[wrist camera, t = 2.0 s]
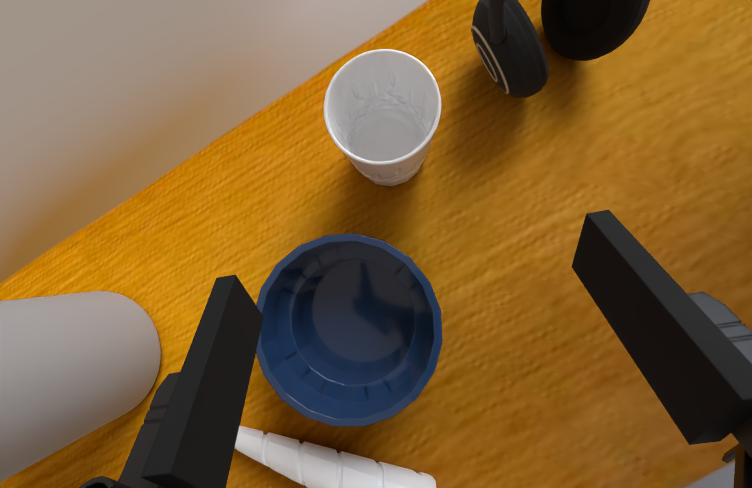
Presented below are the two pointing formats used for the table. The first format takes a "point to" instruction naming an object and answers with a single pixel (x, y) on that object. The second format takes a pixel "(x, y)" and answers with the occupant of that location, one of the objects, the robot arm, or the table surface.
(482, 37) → the headphones
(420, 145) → the white cup
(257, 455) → the unicorn horn
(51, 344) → the cylinder vase
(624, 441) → the table surface
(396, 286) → the navy blue bowl
